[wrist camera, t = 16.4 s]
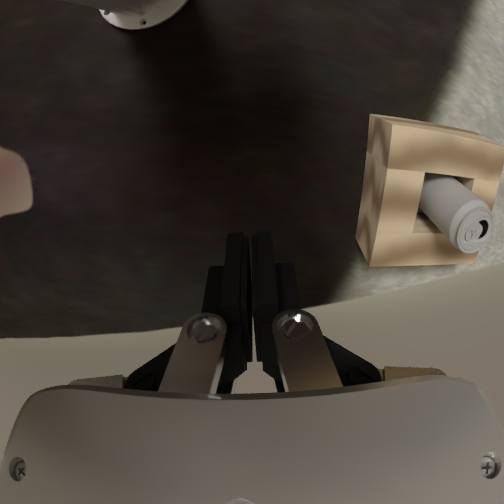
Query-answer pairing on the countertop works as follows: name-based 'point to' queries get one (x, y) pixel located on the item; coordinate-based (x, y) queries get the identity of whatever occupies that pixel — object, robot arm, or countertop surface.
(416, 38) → the countertop surface
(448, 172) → the holder block
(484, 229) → the beverage can
